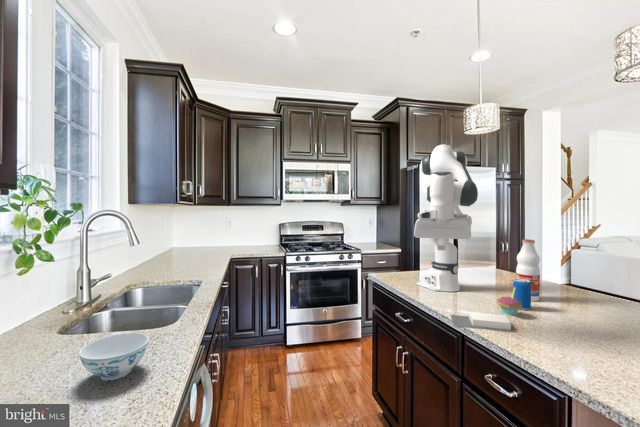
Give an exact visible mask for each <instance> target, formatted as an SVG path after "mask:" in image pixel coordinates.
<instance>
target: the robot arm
mask: <svg viewBox="0 0 640 427" xmlns="http://www.w3.org/2000/svg"><path fill="white" fill-rule="evenodd" d="M467 165H468V158H467V155H466V154H465V152H463V151H459V150H458V151H453V149H452V147H451V146H450V145H448V144H439V145H436V146H435V147H434V149H433V150H432V152H431V154H427V155H424V156H423V157H422V159H421V161H420V169H421V172H422V174H423V175H426V176H431V177H430V184H429V185H428V186H427V187H426V201H428V202H429V208H428V210H424V211H421V212H418V213H417V218H418V219H416V221H415V223H414V230H413V236H414V238H417V239H419V238H420V239H430V240H431V242H432V244H433V249H434V260H433V261H431V262H430V265H431V267H430V268H429V269H427V270H426V271H424V272H422V275H421V279H420V280H419V281H417V282H416V285H418V286H420V287H422V288H425V289H428V290H431V291H434V292H458V291H460V290H461V286H460V283H459V276H458V275H459V274H458V272H459V263H458V248H457V247H456V245H454V244H453V243H451V242H450V239H452V240H470V239H471V238H472V230H471V228H472V222H473V218H472V217H471V216H470V215H468V214H467V213H465V214H464V213H463V212H462V211H461V209H460V206H461V207H470V206H472V205H474V204H475V203H476V202H477V200H478V197H479V196H478V195H479V191H478V190H479V189H478V187H477V184H476V183H475V182H474V181H473V179H472V176H470V173H469V171H468V168H466V167H467Z"/></svg>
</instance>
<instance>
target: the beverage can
mask: <svg viewBox="0 0 640 427" xmlns="http://www.w3.org/2000/svg"><path fill="white" fill-rule="evenodd" d="M515 286H516V287H515ZM514 288H516V289H515V294H514V298H515V299H517V300H519V301H520V302H521V303H522V307H521V308H520V309H519V310H522V311H528V310H529V309H531V307H532V301H531V283H530V281H529V280H525V279H516V278H515V279H514V280H513V282H512V290H513V289H514Z"/></svg>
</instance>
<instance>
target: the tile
mask: <svg viewBox="0 0 640 427" xmlns="http://www.w3.org/2000/svg"><path fill="white" fill-rule="evenodd" d="M468 316H469V319H470V321H471V323H472V325H473V326H478V327H488V328H497V329H507V330H511V325H512V323H511V321H510V320H509V319H508V318H507V316H506V315H505V314H497V313H496V314H493V313H484V312H483V313H482V312H473V311H472V312H471V311H469V312H468Z"/></svg>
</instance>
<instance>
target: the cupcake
mask: <svg viewBox="0 0 640 427" xmlns="http://www.w3.org/2000/svg"><path fill="white" fill-rule="evenodd" d="M515 287H516V286H515ZM515 289H516V288H514V289H513V288H512V293H511V294H512V295H511V296H502V297H500V298H498V299H497V301H496V304H497V305H498V306H499V307H500V310H501V313H502V314H503V315H507V316H517V314H518V312H519V310H521V309H520V308H521V307H522V303H521V302H520V301H519V300H517V299H515V298H514V294H515Z"/></svg>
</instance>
